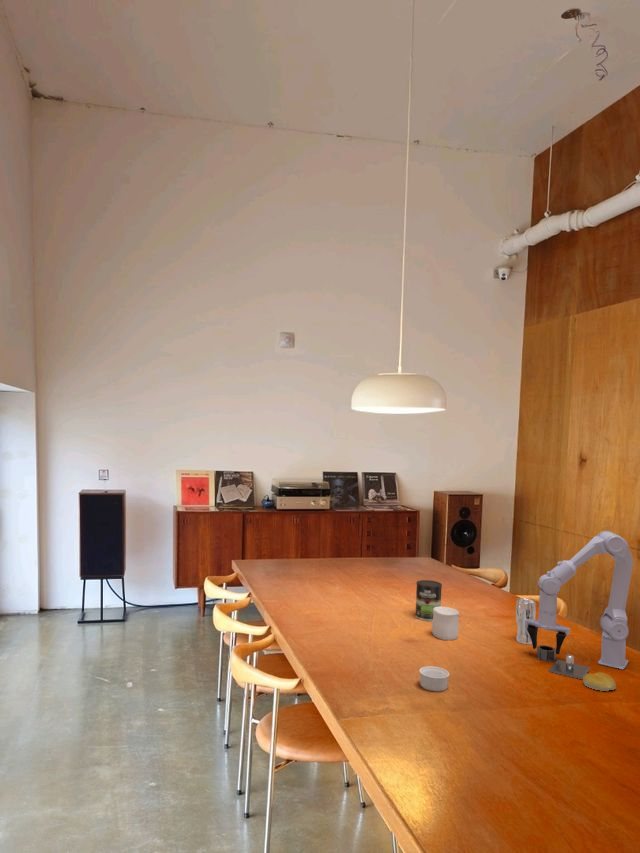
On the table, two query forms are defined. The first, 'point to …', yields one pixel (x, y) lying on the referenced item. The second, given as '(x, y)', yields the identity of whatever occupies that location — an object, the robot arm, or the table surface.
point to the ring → (546, 653)
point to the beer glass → (524, 618)
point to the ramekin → (434, 678)
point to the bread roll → (599, 681)
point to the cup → (445, 623)
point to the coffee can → (427, 599)
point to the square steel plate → (569, 668)
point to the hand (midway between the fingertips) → (546, 650)
